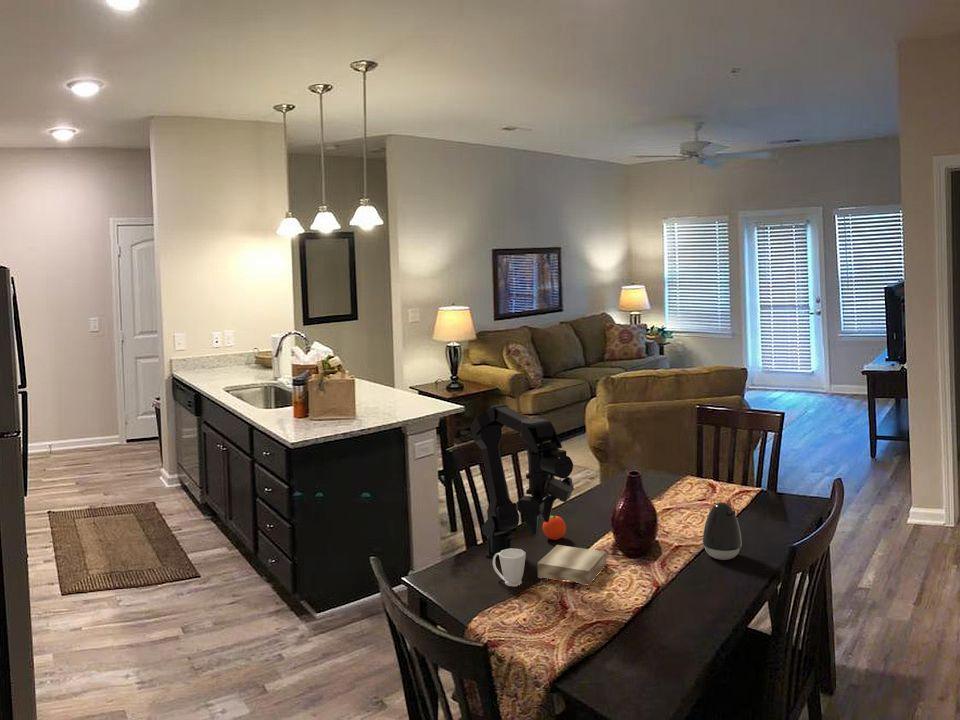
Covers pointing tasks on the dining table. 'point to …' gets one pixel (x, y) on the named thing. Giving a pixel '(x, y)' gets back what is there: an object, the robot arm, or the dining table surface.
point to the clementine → (554, 527)
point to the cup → (511, 566)
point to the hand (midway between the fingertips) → (540, 527)
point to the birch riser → (571, 564)
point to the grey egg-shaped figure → (722, 532)
